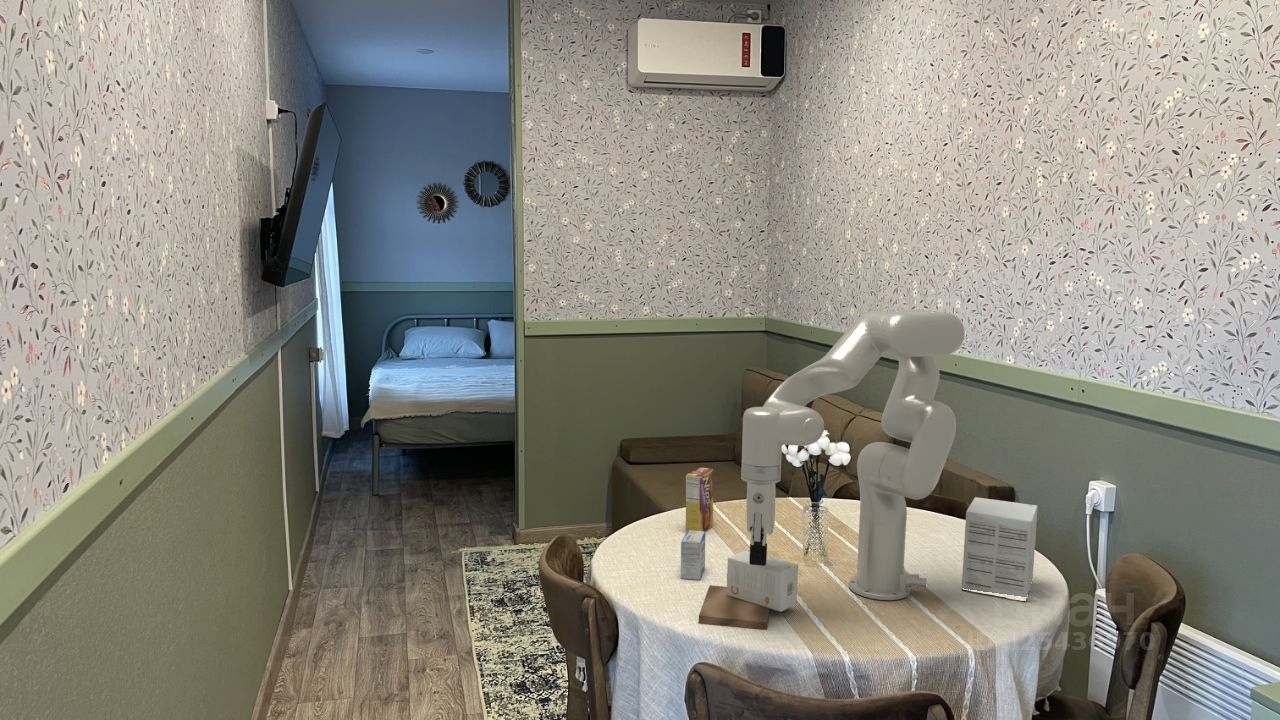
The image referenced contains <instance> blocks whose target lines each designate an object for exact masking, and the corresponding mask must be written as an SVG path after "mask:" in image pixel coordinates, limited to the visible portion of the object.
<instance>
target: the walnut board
mask: <svg viewBox="0 0 1280 720" xmlns="http://www.w3.org/2000/svg"><path fill="white" fill-rule="evenodd" d="M707 588H708V589H707V592H706V593H705V597H704V600H703V603H702V605H701V607H700V608H701V609H700V610H699V611H700V612H699V614H698V623H699V624H703V623H704V624H706V625H716V626H726V627H734V628H735V627H736V628H744V629H745V628H747V629H755V630H768V624H769V619H770V612H771V609H770V608H767V607H763V606H760V605H757V604H754V603H751V602H748V601H744V600H741V599H738V598H735V597H731V596H728V595H727V586H724V585H723V586H720V585H712V584H711V585H709V586H708V587H707Z"/></svg>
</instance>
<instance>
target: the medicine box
mask: <svg viewBox="0 0 1280 720" xmlns="http://www.w3.org/2000/svg"><path fill="white" fill-rule="evenodd" d="M705 567H706V531H705V532H704V531H692V530H690V531H687V532H686V531H685V534H684V536H683V538H682V540H681V542H680V579H684V580H695V581H696V580H697V581H701V580H702V576H703V573H704V571H705Z"/></svg>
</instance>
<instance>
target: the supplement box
mask: <svg viewBox="0 0 1280 720" xmlns="http://www.w3.org/2000/svg"><path fill="white" fill-rule="evenodd" d="M1037 520H1038V505H1036V504H1028V503H1021V502H1014V501H1006V500H1000V499H990V498H985V497H984V498H983V497H976V496H975V497H974V498H973V499H972V502H971V503H970V504H969V506H968V508H967V510H966V511H965V527H964V540H963V541H964V545H963V563H962V577H961V588H964V589H968V590H969V589H970V590H977V591H983V592H992V593H999V594H1007V595H1014V596H1021V597H1027V595H1028V592H1029V589H1030V590H1031V588H1030V586H1031V587H1032V585H1031V582H1032V583H1033V580H1032V579H1034V578H1033V577H1034V566H1035V565H1034V563H1035V550H1036V537H1037V536H1036V535H1037ZM1029 593H1030V592H1029ZM1028 596H1029V595H1028Z"/></svg>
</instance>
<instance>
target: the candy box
mask: <svg viewBox="0 0 1280 720" xmlns="http://www.w3.org/2000/svg"><path fill="white" fill-rule="evenodd" d="M712 527H714V469H713V468H709V467H707V468H706V467H699V468H697V469H694V470H693V471H691V472H689V473H687V474H686V475H685V533H686V532H687V531H690V530H692V531H704V532H705V533H706V532H707V531H708V530H709V529H711V528H712Z"/></svg>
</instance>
